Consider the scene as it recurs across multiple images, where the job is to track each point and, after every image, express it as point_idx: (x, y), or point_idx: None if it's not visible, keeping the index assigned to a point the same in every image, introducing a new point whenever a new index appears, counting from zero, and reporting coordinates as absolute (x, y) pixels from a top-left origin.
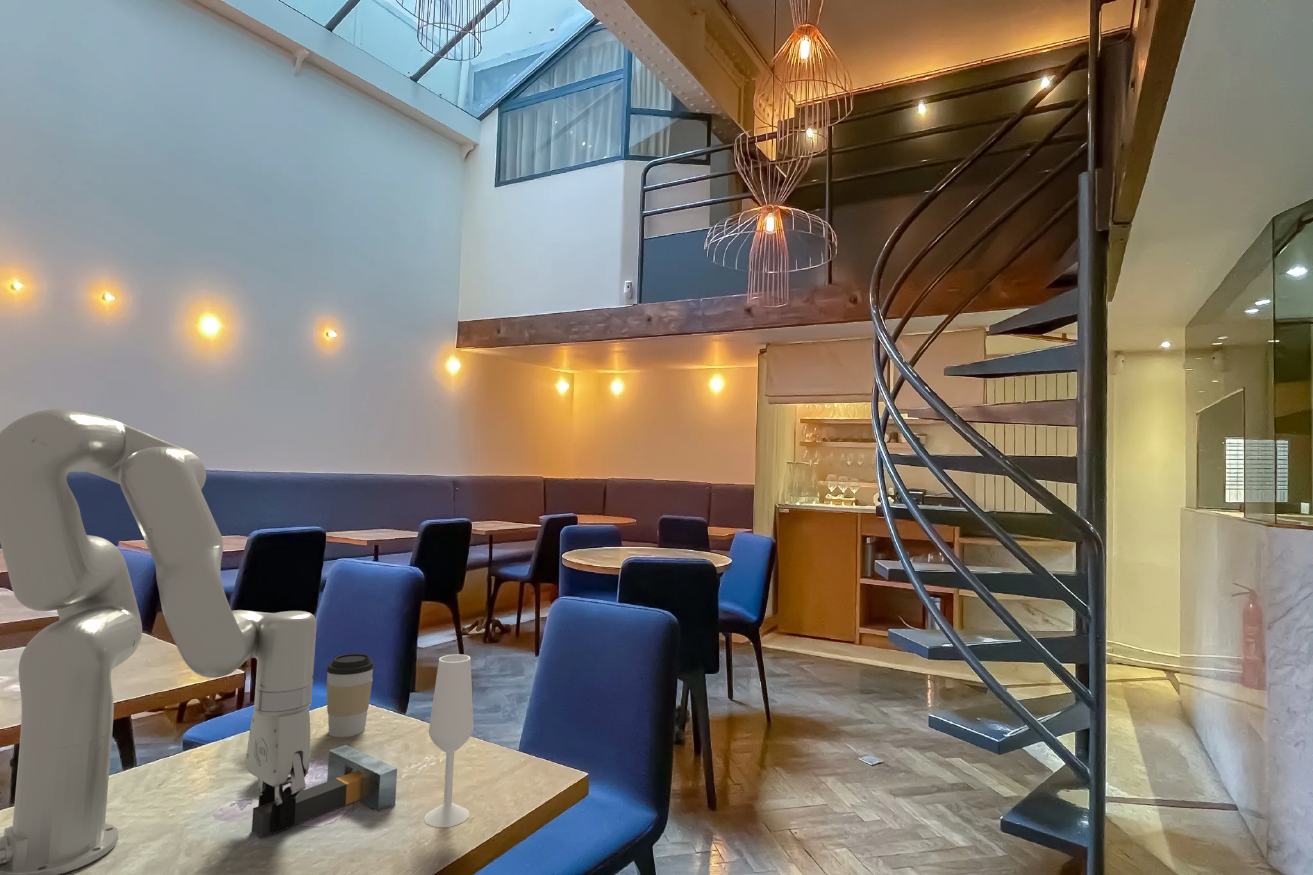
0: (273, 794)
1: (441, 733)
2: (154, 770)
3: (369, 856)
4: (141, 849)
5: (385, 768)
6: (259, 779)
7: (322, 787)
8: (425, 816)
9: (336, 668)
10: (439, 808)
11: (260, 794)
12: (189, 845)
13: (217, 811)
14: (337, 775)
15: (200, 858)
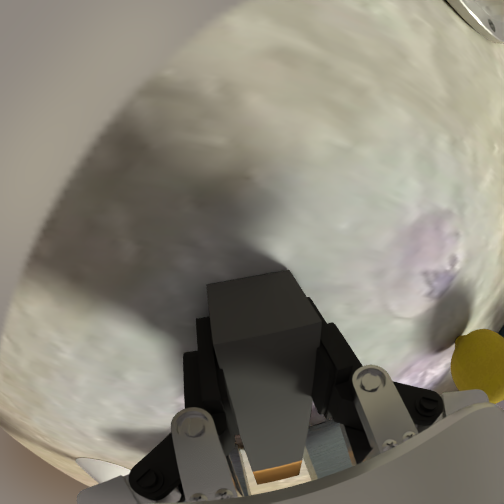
0: (323, 397)
1: None
2: None
3: (14, 394)
4: (407, 10)
5: None
6: (403, 412)
7: (280, 451)
8: (116, 465)
9: None
10: (103, 478)
11: (356, 370)
12: (347, 83)
13: (455, 224)
14: (334, 445)
15: (213, 72)
